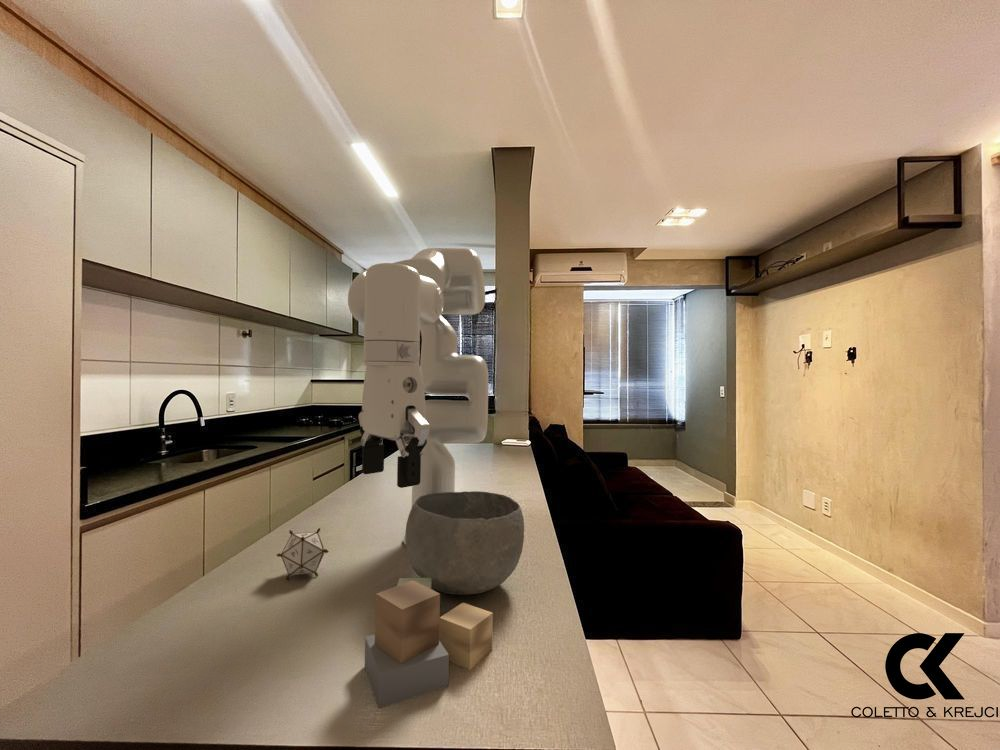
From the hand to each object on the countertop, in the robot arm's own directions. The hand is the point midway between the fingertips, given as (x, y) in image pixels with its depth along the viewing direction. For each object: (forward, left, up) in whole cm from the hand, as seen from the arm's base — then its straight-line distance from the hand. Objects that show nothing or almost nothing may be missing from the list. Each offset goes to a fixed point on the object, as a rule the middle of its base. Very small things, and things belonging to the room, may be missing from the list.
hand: (389, 478), depth 62 cm
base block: (+2, +9, -22) cm, 24 cm away
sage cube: (-6, -3, -22) cm, 23 cm away
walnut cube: (+2, +8, -18) cm, 20 cm away
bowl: (-18, -6, -22) cm, 29 cm away
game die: (+2, -28, -22) cm, 36 cm away
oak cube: (-6, +10, -22) cm, 25 cm away
